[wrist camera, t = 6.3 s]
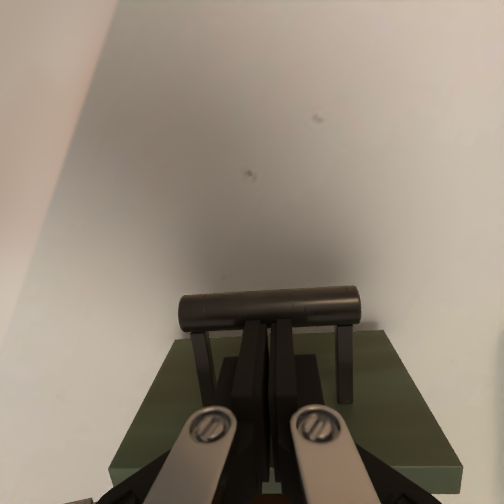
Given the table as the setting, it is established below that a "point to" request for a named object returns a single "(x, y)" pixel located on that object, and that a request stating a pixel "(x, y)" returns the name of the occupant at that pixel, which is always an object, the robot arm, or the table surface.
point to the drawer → (331, 376)
